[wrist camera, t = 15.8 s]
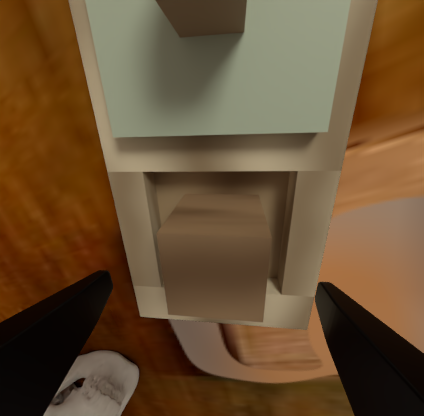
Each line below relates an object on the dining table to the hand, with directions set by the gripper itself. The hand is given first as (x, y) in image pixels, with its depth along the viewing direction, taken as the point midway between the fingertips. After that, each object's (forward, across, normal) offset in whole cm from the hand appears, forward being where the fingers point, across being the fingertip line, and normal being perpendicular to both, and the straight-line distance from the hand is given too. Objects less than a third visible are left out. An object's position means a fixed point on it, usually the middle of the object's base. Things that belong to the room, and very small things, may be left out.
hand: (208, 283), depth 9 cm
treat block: (+5, 0, 0) cm, 5 cm away
